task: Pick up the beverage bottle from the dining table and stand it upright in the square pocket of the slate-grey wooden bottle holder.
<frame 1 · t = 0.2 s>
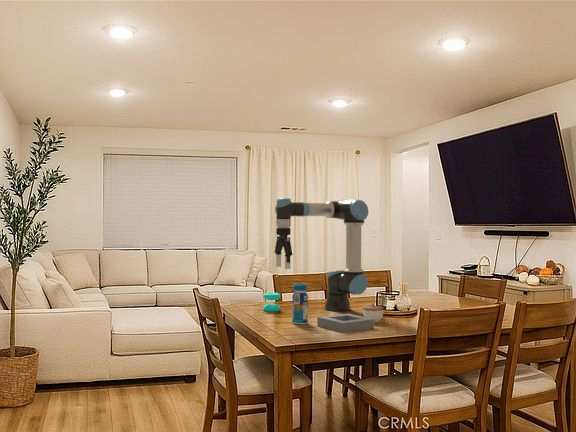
hand: (283, 267, 318), 28 cm above the table, tool pointing down, fingers open, 13 cm apart
beverage bottle: (299, 323, 312), on the table
lidded jar: (372, 322, 317), on the table
donuts: (271, 311, 351), on the table
bottle holder: (345, 327, 302), on the table
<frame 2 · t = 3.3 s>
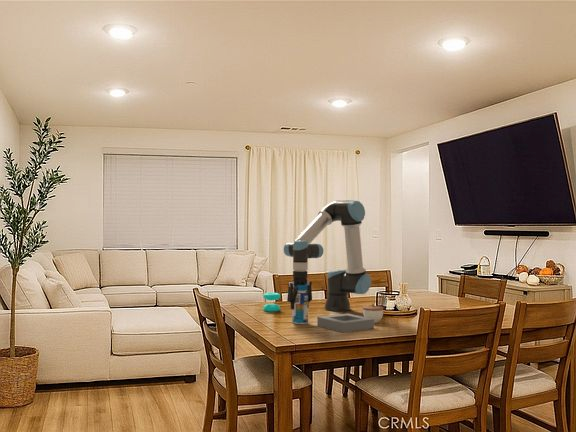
hand: (299, 315, 312), 4 cm above the table, tool pointing down, fingers closed on beverage bottle, 7 cm apart
beverage bottle: (300, 323, 312), on the table, touching gripper
everything else where it was.
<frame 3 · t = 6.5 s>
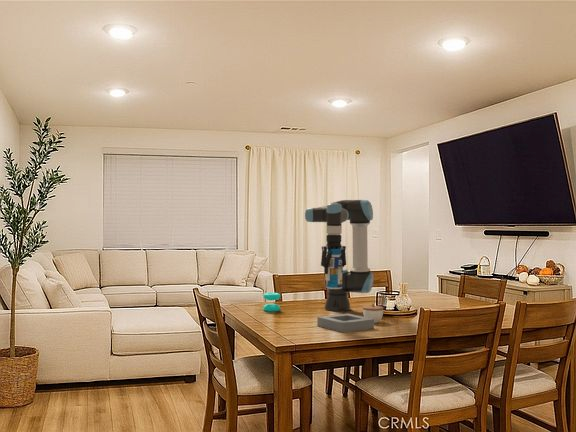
hand: (333, 280, 304), 23 cm above the table, tool pointing down, fingers closed on beverage bottle, 7 cm apart
beverage bottle: (334, 288, 304), point 19 cm above the table, touching gripper
everything else where it was.
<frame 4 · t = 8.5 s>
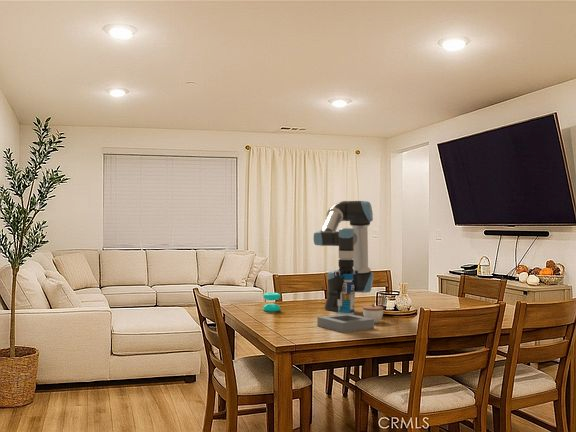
hand: (345, 305, 302), 11 cm above the table, tool pointing down, fingers closed on beverage bottle, 7 cm apart
beverage bottle: (346, 313, 302), point 7 cm above the table, touching gripper
everything else where it was.
when the fingers open (7 cm above the table, at t = 9.8 s): beverage bottle moves 1 cm, resting on bottle holder.
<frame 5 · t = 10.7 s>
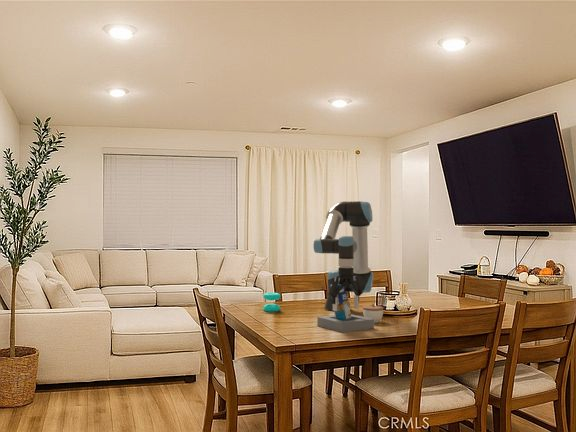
hand: (345, 309, 302), 9 cm above the table, tool pointing down, fingers open, 13 cm apart
beverage bottle: (344, 323, 303), point 2 cm above the table, touching bottle holder
everything else where it was.
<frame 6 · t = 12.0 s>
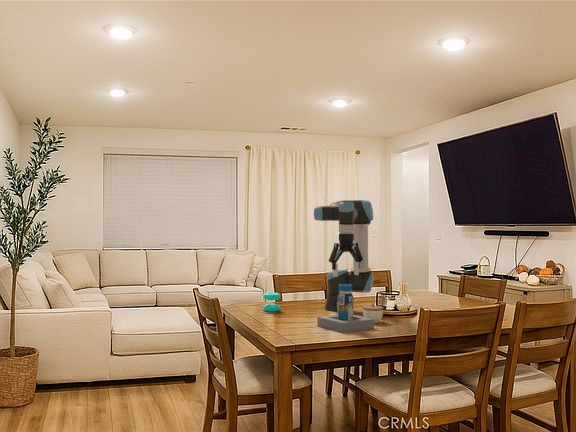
hand: (345, 275, 302), 26 cm above the table, tool pointing down, fingers open, 13 cm apart
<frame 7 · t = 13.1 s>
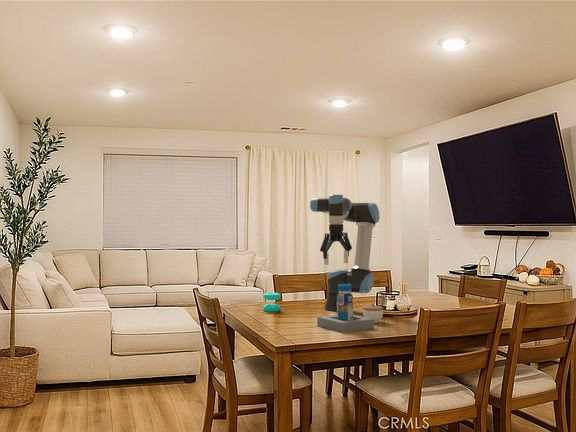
hand: (336, 264, 319), 30 cm above the table, tool pointing down, fingers open, 13 cm apart
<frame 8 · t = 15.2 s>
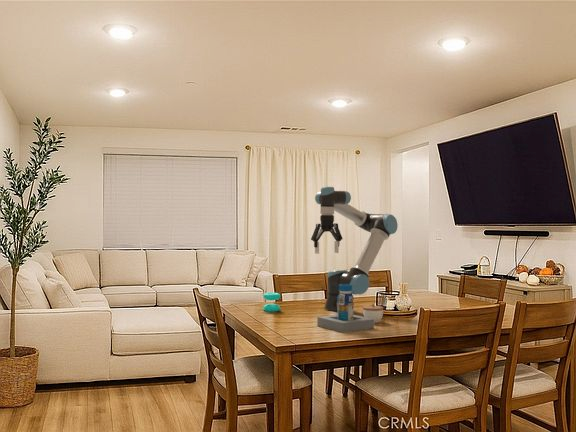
hand: (326, 253, 334), 35 cm above the table, tool pointing down, fingers open, 13 cm apart
at the end: beverage bottle 1.5 cm off-centre on the bottle holder, point 0.8 cm above the bottle holder's base; beverage bottle tilted 0°; the gripper is holding nothing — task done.
